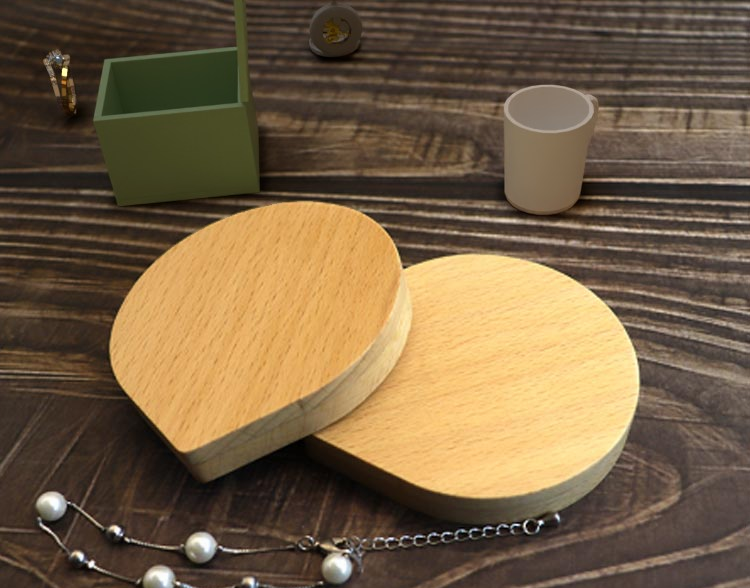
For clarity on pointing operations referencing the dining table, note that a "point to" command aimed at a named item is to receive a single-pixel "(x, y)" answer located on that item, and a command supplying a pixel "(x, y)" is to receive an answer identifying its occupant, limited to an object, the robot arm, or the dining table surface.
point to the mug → (546, 147)
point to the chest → (177, 127)
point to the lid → (242, 47)
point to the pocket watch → (335, 30)
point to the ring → (67, 82)
